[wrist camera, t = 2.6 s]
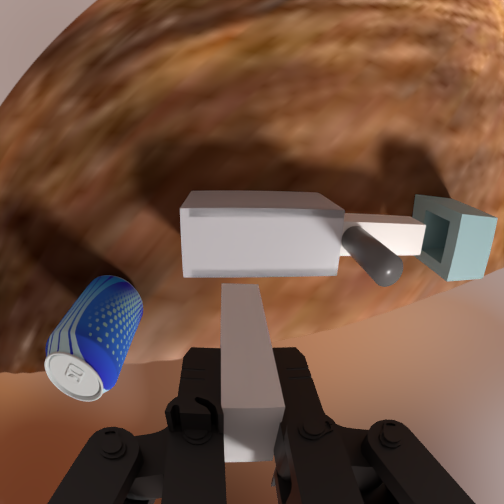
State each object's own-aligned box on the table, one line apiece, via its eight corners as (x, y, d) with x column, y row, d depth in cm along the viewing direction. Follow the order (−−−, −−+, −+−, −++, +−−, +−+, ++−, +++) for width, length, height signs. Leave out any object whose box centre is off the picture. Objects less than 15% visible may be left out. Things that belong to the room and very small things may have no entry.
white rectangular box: (191, 190, 34) (179, 208, 26) (318, 192, 35) (344, 210, 27) (193, 245, 36) (183, 277, 28) (313, 244, 38) (336, 275, 29)
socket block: (415, 194, 36) (462, 214, 27) (451, 198, 36) (497, 218, 27) (406, 250, 39) (446, 281, 30) (441, 250, 39) (482, 278, 30)
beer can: (154, 318, 40) (126, 405, 25) (105, 328, 40) (65, 407, 25) (131, 264, 37) (82, 340, 22) (80, 278, 37) (22, 349, 22)
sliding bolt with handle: (204, 210, 31) (193, 250, 21) (409, 216, 33) (468, 250, 23) (205, 243, 32) (195, 296, 22) (405, 244, 34) (459, 285, 24)
